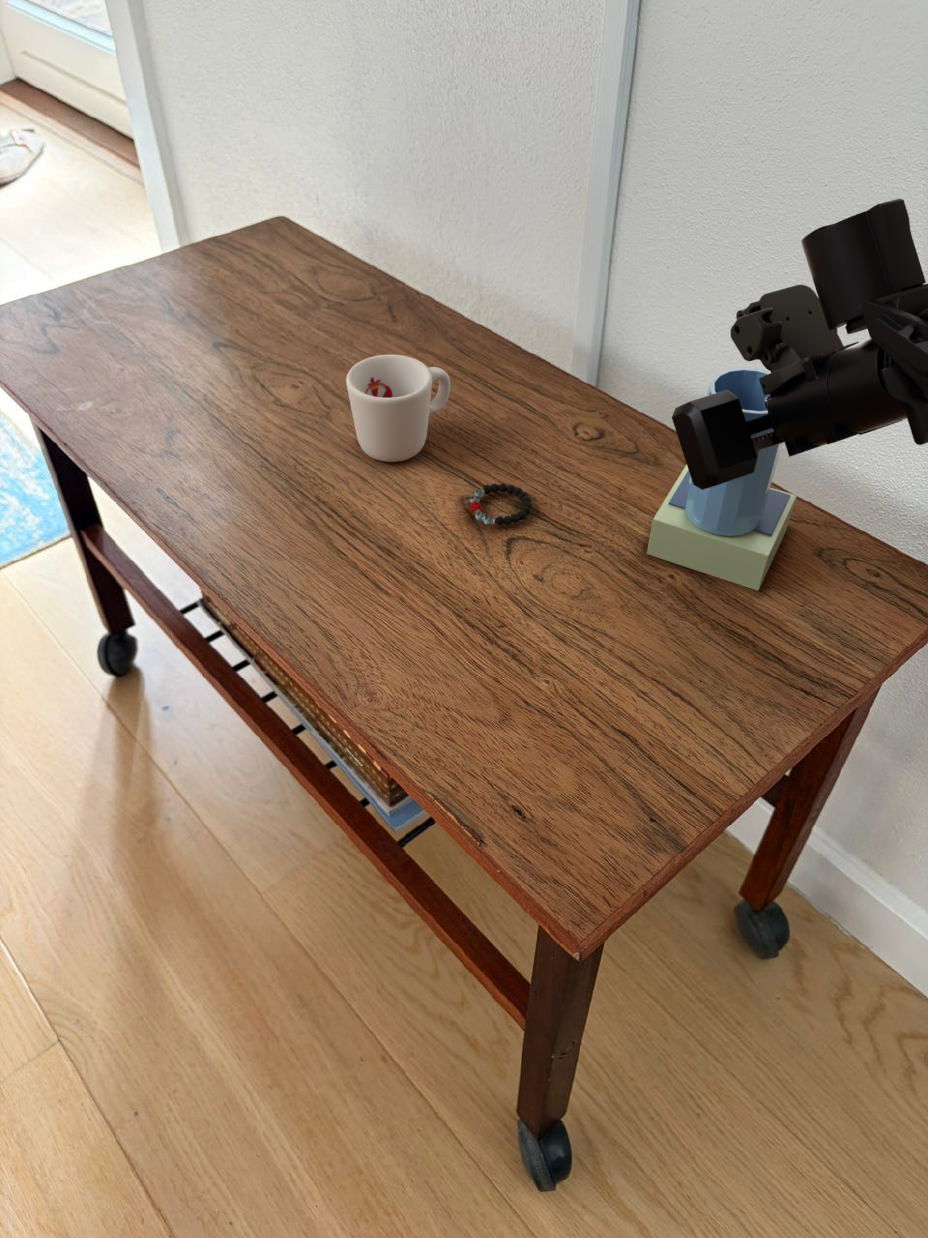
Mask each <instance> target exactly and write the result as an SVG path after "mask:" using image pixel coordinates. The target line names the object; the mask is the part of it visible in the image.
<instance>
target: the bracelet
mask: <svg viewBox="0 0 928 1238" xmlns="http://www.w3.org/2000/svg"><path fill="white" fill-rule="evenodd" d="M498 492H499V493H502V494H503V493H507V494H509V495H513V496H514V497H516V498H518V500H519V501H520V502H521V508H520V510H519V511H518V512H517V513H516V512H515V513H512V514H511V515H505V516H504V517H503V516H502V515H498V516H496V517H495V518H493V517H492V516H491V515H488V516H486V513H485V512H484V511H483V505H482V504H481V503H480V501H481V500H480V499H483V498H484V495H489V494H491V493H493V494H496V493H498ZM469 502H471V503H470V504H469V509H470V511H471V513H472V514H473V515H474V516H475V519H476V521H478V522H483V523H484V525H485V526H493V525H497V526H499V527H502V526H503V525H506V526H510V525H512V524H518V523H519V522H520V521H524V520H526V519H527V516H529V515H530V513H531V509H532V506H533V505H532V504H531V502H532V500H531V498H530V497H529V495H528V493H527V492H526V491H523V489H522V488H521V487H519V486H518V487H517V486H515V485H513V484H508V485H507V484H506V483H504V482H503V483H500V484H497V483H492V484H485V485H483V487H482V489H481V488H479V489H476V490H475V491H474V494H473V495H472V497H470V499H469Z"/></svg>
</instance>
